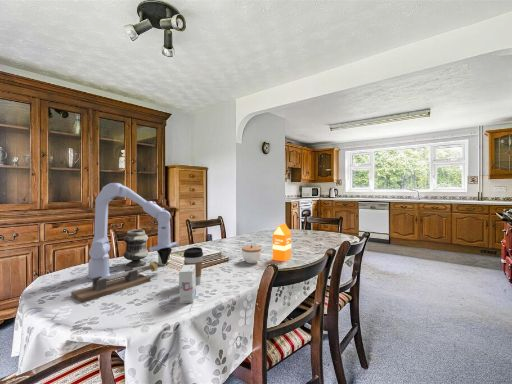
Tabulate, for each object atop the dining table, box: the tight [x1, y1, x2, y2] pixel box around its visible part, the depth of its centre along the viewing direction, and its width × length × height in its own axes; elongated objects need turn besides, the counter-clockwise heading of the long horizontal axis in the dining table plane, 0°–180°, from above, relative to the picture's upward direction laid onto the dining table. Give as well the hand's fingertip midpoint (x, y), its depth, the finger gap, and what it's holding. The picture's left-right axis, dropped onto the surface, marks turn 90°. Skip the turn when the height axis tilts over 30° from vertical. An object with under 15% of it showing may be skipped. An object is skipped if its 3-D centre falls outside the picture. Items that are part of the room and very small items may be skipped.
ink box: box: [178, 264, 197, 304], centre depth 101 cm, size 9×5×12 cm, turn 5°
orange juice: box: [272, 223, 292, 262], centre depth 156 cm, size 8×9×20 cm
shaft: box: [98, 261, 159, 282], centre depth 116 cm, size 4×24×4 cm, turn 143°
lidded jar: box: [241, 244, 262, 264], centre depth 149 cm, size 11×11×9 cm
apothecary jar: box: [123, 229, 149, 268], centre depth 142 cm, size 12×12×18 cm
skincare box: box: [157, 240, 172, 266], centre depth 144 cm, size 6×4×12 cm
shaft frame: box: [71, 267, 151, 304], centre depth 111 cm, size 10×27×6 cm, turn 143°
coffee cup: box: [182, 246, 204, 286], centre depth 116 cm, size 8×8×15 cm
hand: (164, 263), depth 130 cm, fingers closed
